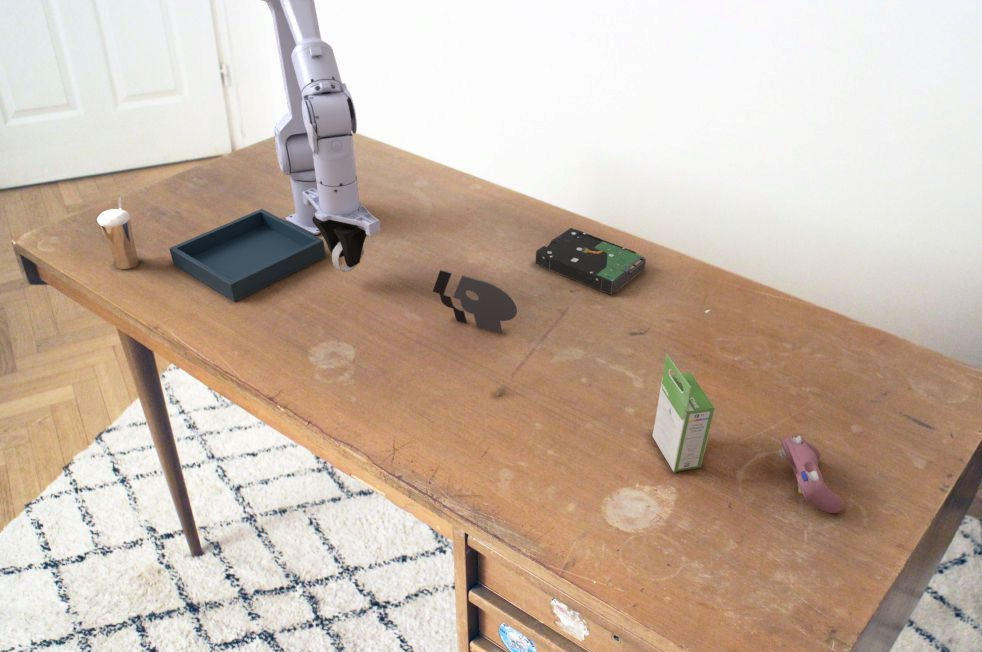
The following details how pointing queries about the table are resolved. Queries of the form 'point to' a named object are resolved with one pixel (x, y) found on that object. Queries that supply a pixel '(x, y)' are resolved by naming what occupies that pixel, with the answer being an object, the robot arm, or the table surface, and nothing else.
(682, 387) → the ink box
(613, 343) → the table surface
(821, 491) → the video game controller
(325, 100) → the robot arm
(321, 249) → the tray
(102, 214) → the milkshake
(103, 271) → the table surface
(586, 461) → the table surface
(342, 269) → the wristwatch
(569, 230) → the disk drive
